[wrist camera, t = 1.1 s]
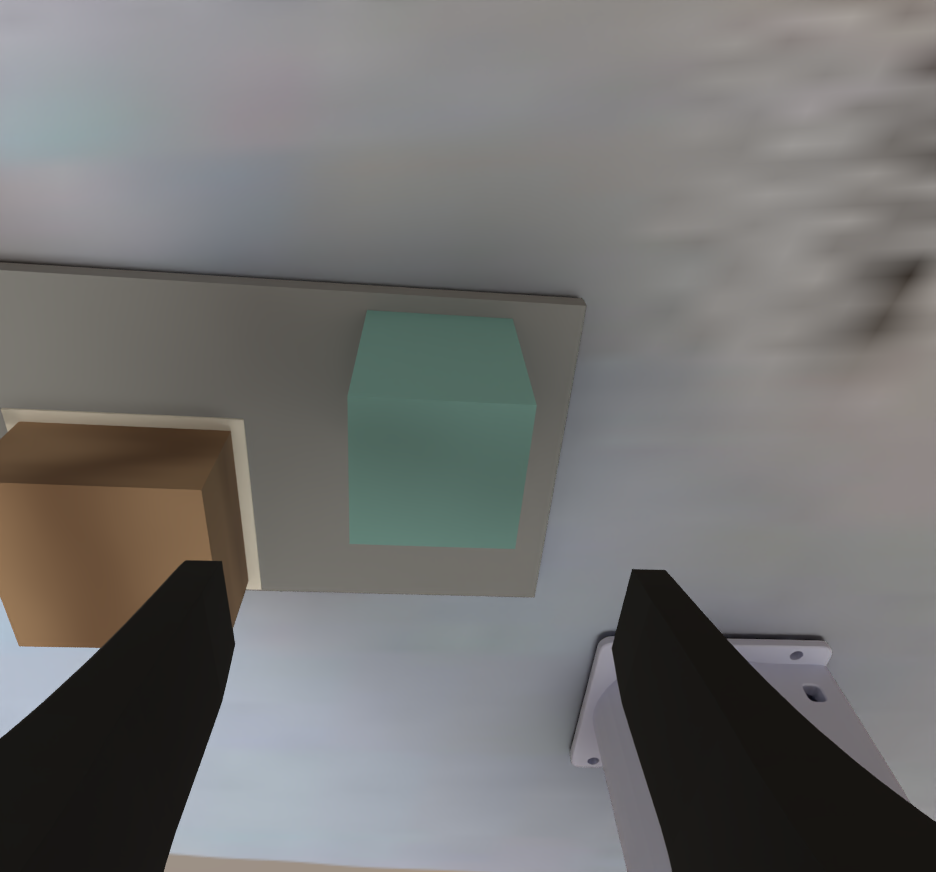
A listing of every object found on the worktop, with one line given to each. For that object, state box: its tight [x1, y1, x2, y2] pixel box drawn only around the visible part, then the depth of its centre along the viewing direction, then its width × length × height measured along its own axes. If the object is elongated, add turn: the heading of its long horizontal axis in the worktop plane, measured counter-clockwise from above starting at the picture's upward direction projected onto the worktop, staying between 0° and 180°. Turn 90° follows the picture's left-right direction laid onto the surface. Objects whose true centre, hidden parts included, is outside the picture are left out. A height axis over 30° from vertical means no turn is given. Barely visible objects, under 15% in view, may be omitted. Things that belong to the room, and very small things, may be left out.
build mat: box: [0, 262, 586, 597], centre depth 21 cm, size 18×11×1 cm, turn 85°
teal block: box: [347, 310, 537, 549], centre depth 17 cm, size 4×4×5 cm
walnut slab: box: [0, 422, 249, 648], centre depth 20 cm, size 6×6×3 cm
